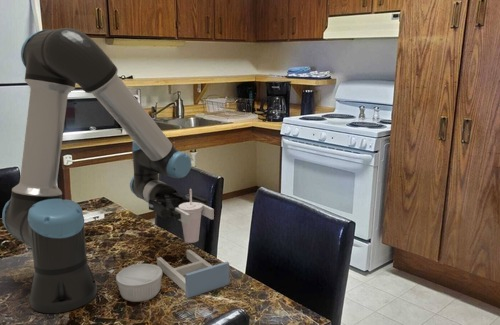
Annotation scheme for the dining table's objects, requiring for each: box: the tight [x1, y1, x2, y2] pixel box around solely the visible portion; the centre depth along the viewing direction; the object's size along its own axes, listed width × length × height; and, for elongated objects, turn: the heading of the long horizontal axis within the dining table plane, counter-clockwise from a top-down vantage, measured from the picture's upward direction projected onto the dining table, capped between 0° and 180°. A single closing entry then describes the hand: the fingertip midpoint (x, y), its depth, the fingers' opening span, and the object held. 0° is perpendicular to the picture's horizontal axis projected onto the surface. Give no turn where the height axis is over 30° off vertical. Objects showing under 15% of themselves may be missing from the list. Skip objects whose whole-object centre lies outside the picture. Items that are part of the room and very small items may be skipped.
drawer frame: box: [156, 249, 230, 299], centre depth 116 cm, size 12×20×6 cm, turn 35°
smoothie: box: [179, 188, 203, 244], centre depth 114 cm, size 6×6×14 cm
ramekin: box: [115, 263, 164, 303], centre depth 107 cm, size 11×11×5 cm
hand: (200, 217), depth 110 cm, fingers closed on smoothie, 6 cm apart
